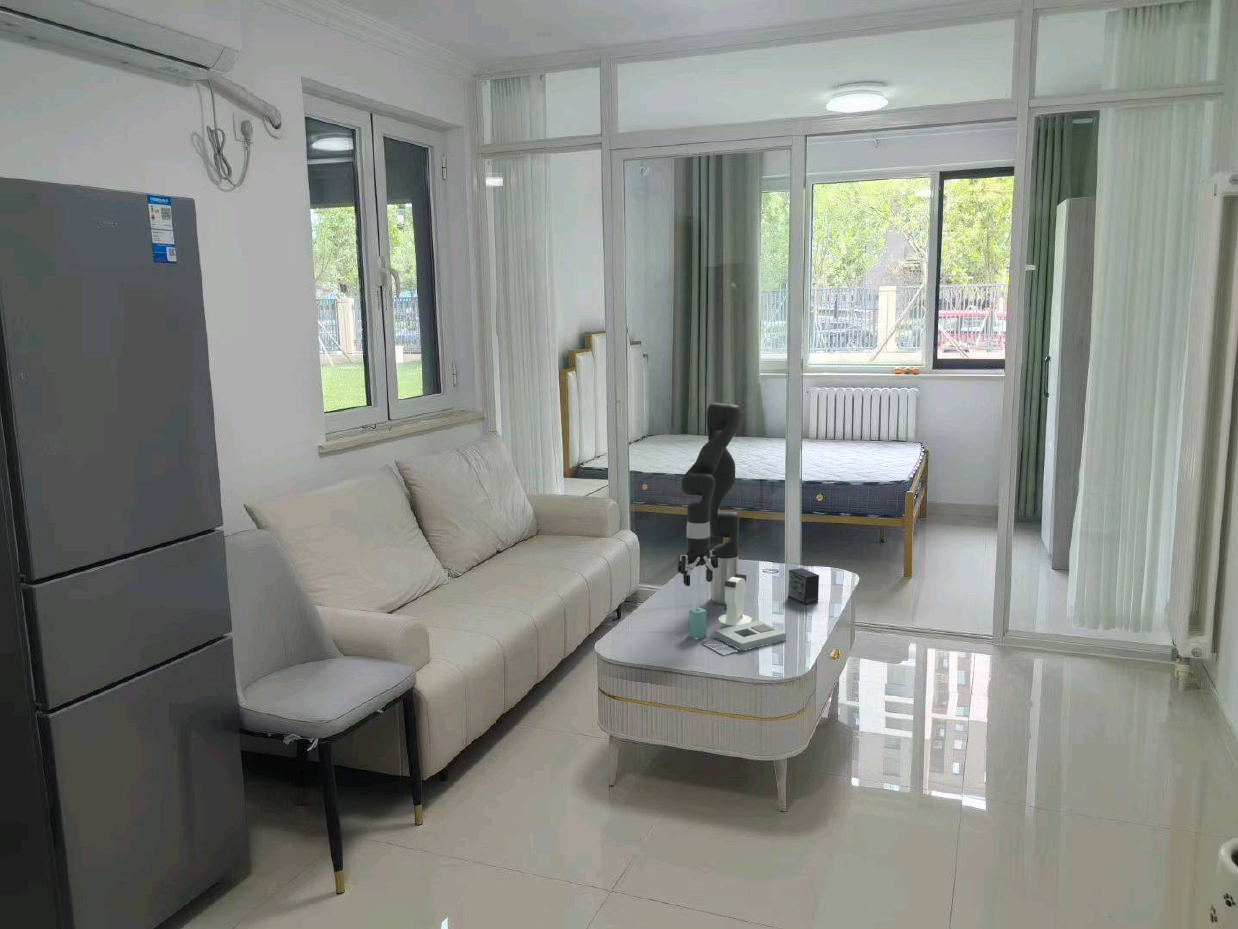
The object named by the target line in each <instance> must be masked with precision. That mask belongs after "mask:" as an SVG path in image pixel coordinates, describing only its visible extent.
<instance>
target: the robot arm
mask: <svg viewBox="0 0 1238 929" xmlns="http://www.w3.org/2000/svg"><path fill="white" fill-rule="evenodd" d="M741 419H742V410H741V408H740V406H739V405H736V404H730V403H720V402H711V403H709V405H708V407H707V409H706V429H707V440H708V441H707V442H706V443H705V444H704V445H703V446H702V448H700V451H699V453H698V455H697V458H696V461H695V462H694V463H693V465H691V467H690V468H689V469H688V470H687V471H686V472H685V473H684V476H683V477H682V480H681V490H682V491H683V493H684V494H686V495H690V496H701V500H699V501H694V502H692V501H691V502H690V503H689V504H688V505H687V510H686V511H687V517H686V518H687V522H686V550H687V551H686V554H679V555H678V557H677V558H678V559H677V560H678V561H677V572H678V573H679V574H681V575H682V576H683V577H682V578H683V582H682V583H683V585H684V586H685V587H691V573H692V571H693V570H694V569H695V568H696V567H700V566H702V567H703V566H704V567H705V568H706V570H705V580H706V582H708V583H710V599H712V602H713V603H715V604H719V605H725V604H726V603H725V596H724V592H725V588H726V586H725V581H728V580H729V579H730V578H731V577H735V574H739V534H740V516H739V513H738V512H736V511H722V510H721V511H719V508H720V507H721V503H722V502H723V500H724V498H725V497H726V496H727V494H729V492H730V491H731V489H732V487H733V486H734V484H735V482H736V463H735V460H734V458H733V456H732V454H731V453H730V451H729V449H728V448H727V447H728V445H729V444H730V442H731V441H732V439H733V438H734V436H735V434H736V433H737V430H739V427H740V424H741V421H742V420H741ZM720 431H721V432H720ZM711 537H714V538H729V539H728V540H726V541H724V542H723V543H719V544H717V545H714V546H713V548H711ZM709 557H710V560H709ZM726 605H727V604H726Z"/></svg>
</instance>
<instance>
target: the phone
mask: <svg viewBox="0 0 1238 929" xmlns="http://www.w3.org/2000/svg"><path fill="white" fill-rule="evenodd" d="M701 643H702V644H706V645H707V644H713V645H711V646H710V645H708V646H710V647H712V648H716V647H718V646H724V645H726V643H724V642H722V641H720V640H719V639H717V638H715V639H710V640H707V641H706V640H705V641H702V642H700V644H701ZM702 644H701V645H702ZM714 644H717V645H715V646H714ZM718 644H719V645H718ZM722 644H723V645H722ZM726 647H727V646H725V647H724V648H723V647H721V648H719V647H718V648H719V649H718V648H717V649H716V650H730V649H729V648H730V645H729V646H728V647H727V648H726ZM722 648H723V649H722ZM735 649H736V648H734V650H735ZM732 650H733V649H732Z"/></svg>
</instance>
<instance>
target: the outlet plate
mask: <svg viewBox="0 0 1238 929" xmlns="http://www.w3.org/2000/svg"><path fill="white" fill-rule="evenodd" d="M714 638H715V639H717V638H718V639H717V640H719V639H720V640H722V641H724V642H726V643H728V644H731V645H733V646H735V647H737V648H739V649H740V650H745V649H749V648H753V647H757V646H761V647H763V646H762V645H765V646H767V645H766V644H769V645H772V644H776V643H781V642H784V640H785V641H787V632H785V631H783V630H781V629H779V628H776V627H774V626H772V625H771V624H768V623H766V622H763V621H761V620H754V621H753V620H752V622H749V623H744V624H740V625H736V626H729V627H728V626H727V627H724V628H718V629H715V630H714ZM720 640H719V641H720ZM722 641H721V642H722ZM780 641H781V642H780ZM724 642H723V643H724ZM726 643H725V644H726ZM728 644H727V645H728ZM757 648H758V647H757ZM753 649H754V648H753ZM740 650H739V651H740ZM749 650H750V649H749ZM745 651H746V650H745Z"/></svg>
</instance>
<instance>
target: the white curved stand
mask: <svg viewBox="0 0 1238 929" xmlns="http://www.w3.org/2000/svg"><path fill="white" fill-rule="evenodd" d="M747 578H748V577H747V575H746V574H742V573H741V574H740V573H738V574H735V577H731V578H730V579H729V580H728V581H725V586H726V588H725V592H724V596H725V603H726V604H727V605H726V604H724V610H725V611H726V613H725V614H722V615H720V616H719V617H718V622H719V623H720V624H722V625H727V626H729V627H731V626H736V625H740V624H744V623H749V622H753V619H752V617H750V616H749V615H745V614H744V609H745V608H744V604H745V600H746V596H747V583H746V582H747Z"/></svg>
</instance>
